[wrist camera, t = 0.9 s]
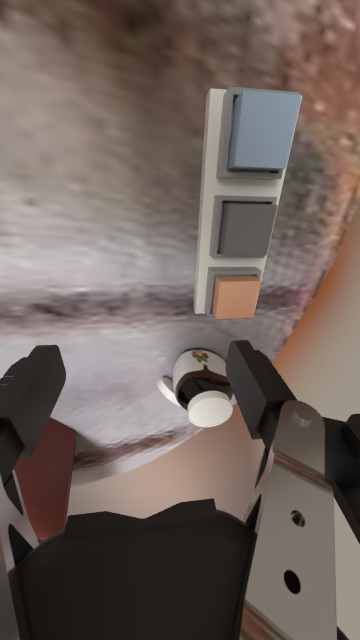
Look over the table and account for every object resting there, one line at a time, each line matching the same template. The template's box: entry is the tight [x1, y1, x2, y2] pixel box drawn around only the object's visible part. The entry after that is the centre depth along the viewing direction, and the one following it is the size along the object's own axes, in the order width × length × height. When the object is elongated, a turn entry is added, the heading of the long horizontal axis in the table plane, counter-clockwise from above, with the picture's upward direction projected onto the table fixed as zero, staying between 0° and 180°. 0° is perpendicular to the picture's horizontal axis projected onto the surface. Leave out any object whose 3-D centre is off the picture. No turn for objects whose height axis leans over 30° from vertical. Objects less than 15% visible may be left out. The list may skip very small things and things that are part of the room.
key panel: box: [193, 87, 302, 317], centre depth 29 cm, size 26×10×4 cm, turn 179°
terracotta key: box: [212, 275, 261, 319], centre depth 31 cm, size 6×6×2 cm
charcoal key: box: [218, 203, 278, 255], centre depth 27 cm, size 6×6×2 cm
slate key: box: [227, 90, 302, 171], centre depth 22 cm, size 6×6×2 cm
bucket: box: [14, 417, 75, 544], centre depth 38 cm, size 24×22×25 cm
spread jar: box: [157, 348, 233, 427], centre depth 38 cm, size 12×11×12 cm
